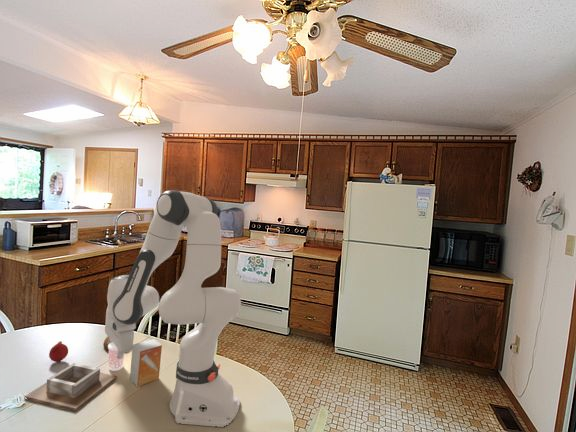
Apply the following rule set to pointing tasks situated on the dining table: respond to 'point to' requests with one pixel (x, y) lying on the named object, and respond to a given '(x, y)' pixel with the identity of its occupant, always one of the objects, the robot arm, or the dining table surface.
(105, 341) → the bread roll
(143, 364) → the small box
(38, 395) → the walnut board
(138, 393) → the dining table surface
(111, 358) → the beverage cup
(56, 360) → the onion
